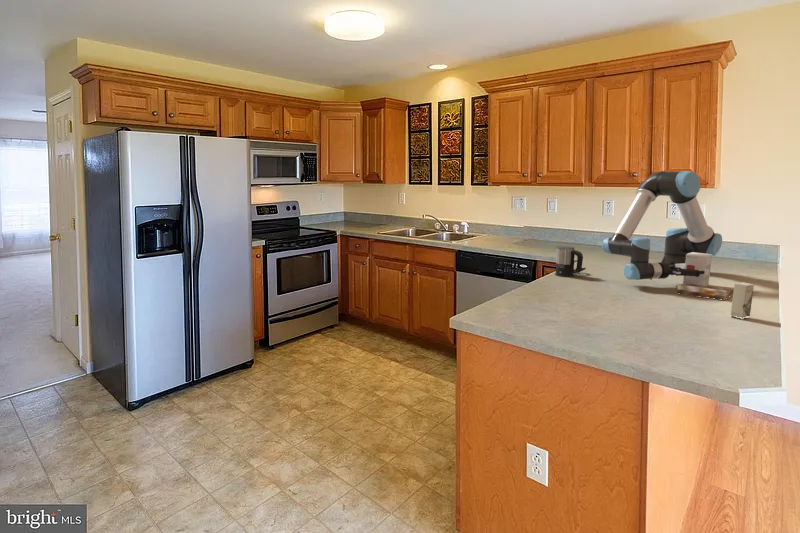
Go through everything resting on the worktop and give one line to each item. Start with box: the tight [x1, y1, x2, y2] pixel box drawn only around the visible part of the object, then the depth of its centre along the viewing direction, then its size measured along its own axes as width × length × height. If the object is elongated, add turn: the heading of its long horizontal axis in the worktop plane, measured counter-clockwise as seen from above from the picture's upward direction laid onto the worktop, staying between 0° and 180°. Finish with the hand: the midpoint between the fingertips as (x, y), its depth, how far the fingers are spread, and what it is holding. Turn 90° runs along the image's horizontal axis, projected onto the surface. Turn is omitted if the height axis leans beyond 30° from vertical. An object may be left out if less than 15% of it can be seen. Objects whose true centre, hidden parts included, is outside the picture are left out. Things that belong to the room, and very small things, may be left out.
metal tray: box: [676, 284, 734, 301], centre depth 220 cm, size 18×16×4 cm
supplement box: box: [682, 252, 713, 286], centre depth 237 cm, size 9×9×15 cm
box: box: [730, 281, 755, 318], centre depth 184 cm, size 5×4×13 cm
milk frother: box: [554, 245, 587, 277], centre depth 262 cm, size 14×16×15 cm
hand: (697, 268), depth 236 cm, fingers open, 13 cm apart
